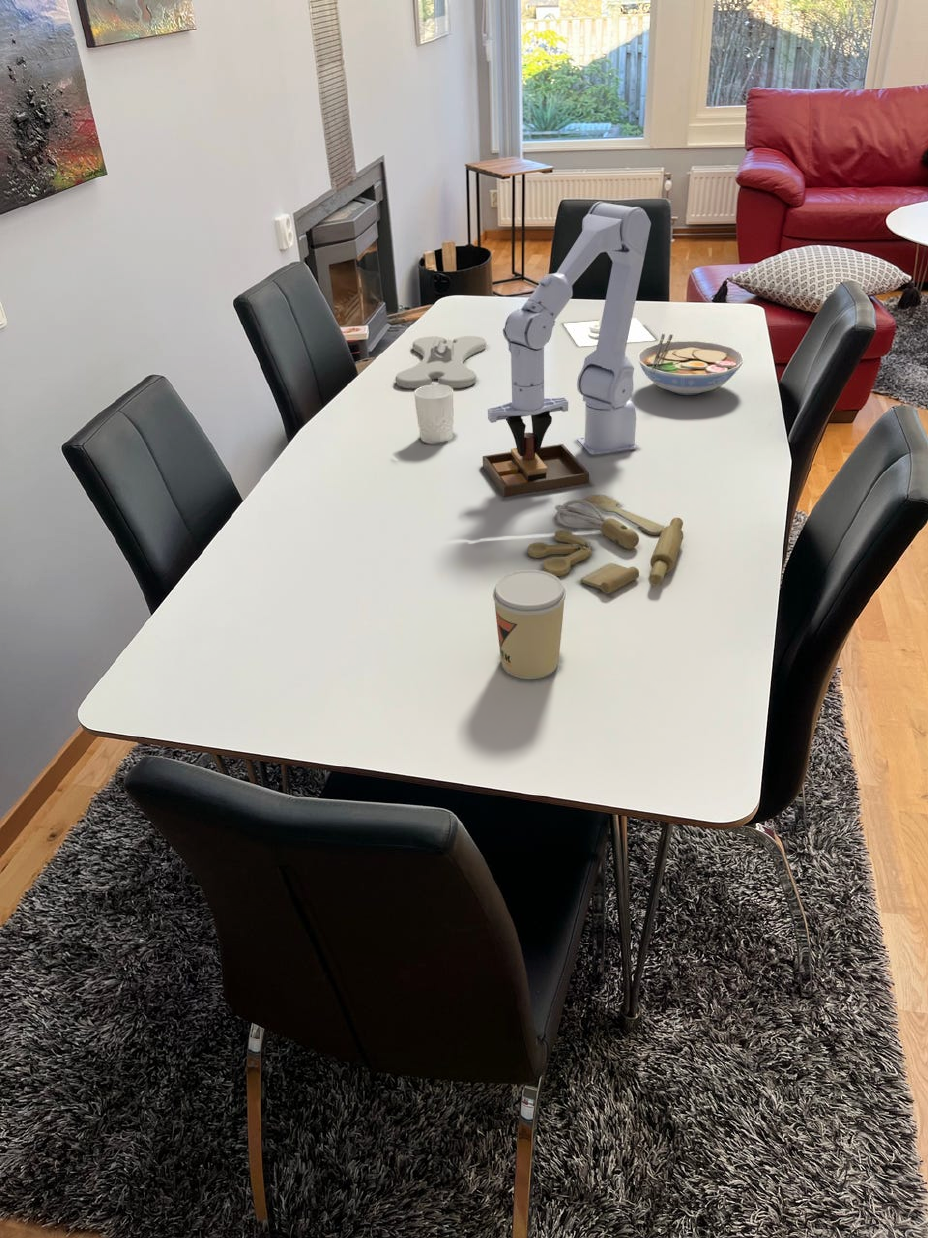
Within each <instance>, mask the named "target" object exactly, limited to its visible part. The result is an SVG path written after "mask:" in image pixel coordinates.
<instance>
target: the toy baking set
mask: <svg viewBox="0 0 928 1238" xmlns="http://www.w3.org/2000/svg"><path fill="white" fill-rule="evenodd" d="M576 504H581V505H586V506H587V507H589V508H590V509H592V511H594V512H595V514H596V515H595V514H593V513H591V512H589V511H586V510H584V509H581V508H578V507H575V506H572V505H576ZM619 504H620V503H619V502H618V501H616V500H615V499H613V498H610V497H608V496H606V495H604V494H593V495H591V496H588V497H587V498H584V499H571V500H568V501H567V502H564V503H563V504H555V506H554V509H555V510H556V514H555V518H556V521H557V522H558V523H559V524H561V525H563V526H565V527H568V528H573V529H598V530H601V533H602V534H603V535H604V536H605V537H607V538H608V539H610V540H612V541H613V542H615V543H618V544H619V545H620V546H621V547H623V548H624V549H626V550H627V549H628V550H630V549H631V550H632V549H634V548H635V547H637V546H638V544H639V542H640V536H639V535H638V533H637V532H636V531H635V530H633V529H631V528H628V527H627V526H626V525H624V524H623V523H621V522H620V521H618V520H616V519H615V518H613V517H609V518H606V517H605V515H604V514H603V513H602V512H601V510H602V511H604V512H606V513H607V512H608V513H615V514H617V515H619V516H620V517H622V518H624V519H626V520H627V521H629V522H631V523H632V524H634V525H636V526H637V529H640V530H641V531H643V532H644V533H646V534H649V535H650V536H651V535H652V536H658V535H660V536H659V538H658V540H657V543H656V546H655V548H654V550H653V553H652V555H651V558H650V567H651V571H650V574H649V577H648V580H649V582H650V584H652V585H654V586H659V585H661V584H662V582H663V580H664V578H665V575H666V574H668V573H669V572H671V571H672V570H673V568H674V566H675V562H676V560H677V556H678V554H679V551H680V548H681V545H682V543H683V540H684V532H683V530H682V528H683V526H684V522H683V519H682V518H681V517H673V518H672V519H671V521H670V523H669V525H666V526H665V527H664V526H663V525H661V524H659V523H656V522H654V521H652V520H649V519H647V518H645V517H642V516H640V515H637V514H634V513H632V512H630V511H628V510H625V509H623V508H620V507H617V506H618V505H619ZM561 514H563V515H566V516H569V517H573V518H575V519H579V520H583V521H586V522H588V523H586V524H585V523H584V524H573V523H568V522H565V521H563V520H562V518H561ZM589 522H590V523H591V524H589ZM554 539H555V540H556V541H558V542H561V543H565V544H548V543H546V542H541V541H540V542H539V541H537V542H536V541H535V542H532V543H530V544H529V545H528V546H527V554H528V556H530V557H532V558H536V559H540V558H541V559H542V558H545V557H547V556H550V555H566V556H564V557H563V556H552V557H548V558H546V559H545V560H544V561H543V562H542V571H544V572H547V573H550V574H552V575H554V576H556V577H561V576H564V575H567V574H568V573H569V572H570V571H571V566H573V565H575V564H577V563H579V562H581V561H584V560H585V559H588V558H589V557H590V556H591V555H592V548H591V541H589V540H588V539H584V538H583V537H580V536H578V535H575V534H573V533H572V531H571V530H570V529H558V530H556V531H555V533H554ZM639 576H640V571H639V569H638V568H637V567H636V566H629V567H625V566H623V565H619V564H616V563H614V562H610V563H608V564H606V565H604V566H602V567H600V568H598V569H596V570H594V571H593V572H590V573H589V574H587V575H585V576H584V577H581V578H580V579H579V580H580V583H582V584H584V585H587V586H591V587H593V588H596V589H600V590H601V592H602V593H603V594H606V595H609V594H611V593H613V592H615V591H617V590H618V589H620V588H622V587H623V586H625V585H627V584H629V583H631V582H632V581H635V580H636V579H638V578H639Z"/></svg>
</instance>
